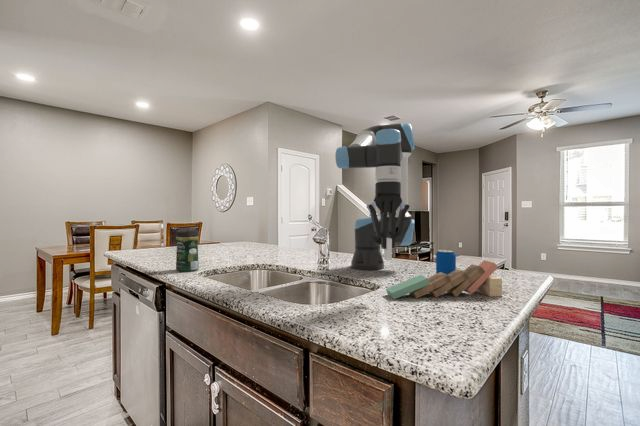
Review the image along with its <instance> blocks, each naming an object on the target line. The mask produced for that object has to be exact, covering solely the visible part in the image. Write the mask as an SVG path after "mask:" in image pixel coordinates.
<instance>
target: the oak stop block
mask: <svg viewBox="0 0 640 426" xmlns="http://www.w3.org/2000/svg"><path fill="white" fill-rule="evenodd" d="M475 292H478V293H480V294H482V295H486V296H488V297H503V279H502V277H499V276H495V275H492V274H491V275H490V276H489V277H488V278H487V279H486V280H485V281H484V282H483V283H482V284H481V285H480V286H479V287H478V288H477V289H476V290H475Z"/></svg>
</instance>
